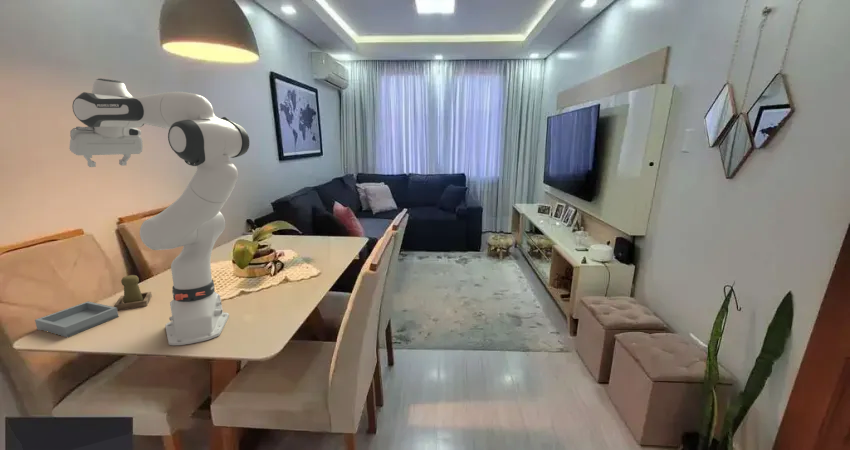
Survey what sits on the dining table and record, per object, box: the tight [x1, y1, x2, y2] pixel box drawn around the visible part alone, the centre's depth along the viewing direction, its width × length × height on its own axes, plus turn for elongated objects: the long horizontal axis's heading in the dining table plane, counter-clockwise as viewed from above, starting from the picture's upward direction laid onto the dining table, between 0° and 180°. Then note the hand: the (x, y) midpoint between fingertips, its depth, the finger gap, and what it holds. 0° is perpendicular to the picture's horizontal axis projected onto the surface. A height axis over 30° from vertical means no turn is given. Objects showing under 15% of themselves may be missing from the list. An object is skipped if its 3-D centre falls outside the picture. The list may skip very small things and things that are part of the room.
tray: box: [34, 300, 120, 338], centre depth 126 cm, size 15×15×4 cm
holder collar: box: [113, 291, 153, 311], centre depth 141 cm, size 10×10×2 cm
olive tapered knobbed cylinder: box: [120, 274, 144, 303], centre depth 140 cm, size 6×6×11 cm
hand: (107, 165), depth 131 cm, fingers open, 8 cm apart
